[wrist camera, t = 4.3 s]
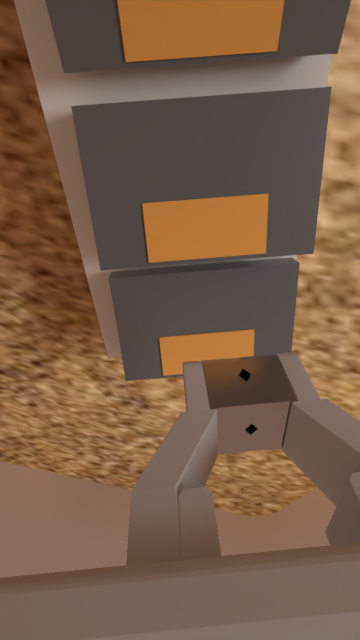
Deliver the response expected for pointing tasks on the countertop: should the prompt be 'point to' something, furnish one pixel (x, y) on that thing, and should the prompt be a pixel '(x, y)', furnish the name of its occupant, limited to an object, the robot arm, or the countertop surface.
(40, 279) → the countertop surface
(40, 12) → the rocker switch box
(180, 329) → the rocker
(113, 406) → the countertop surface
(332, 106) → the countertop surface
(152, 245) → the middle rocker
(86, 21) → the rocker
